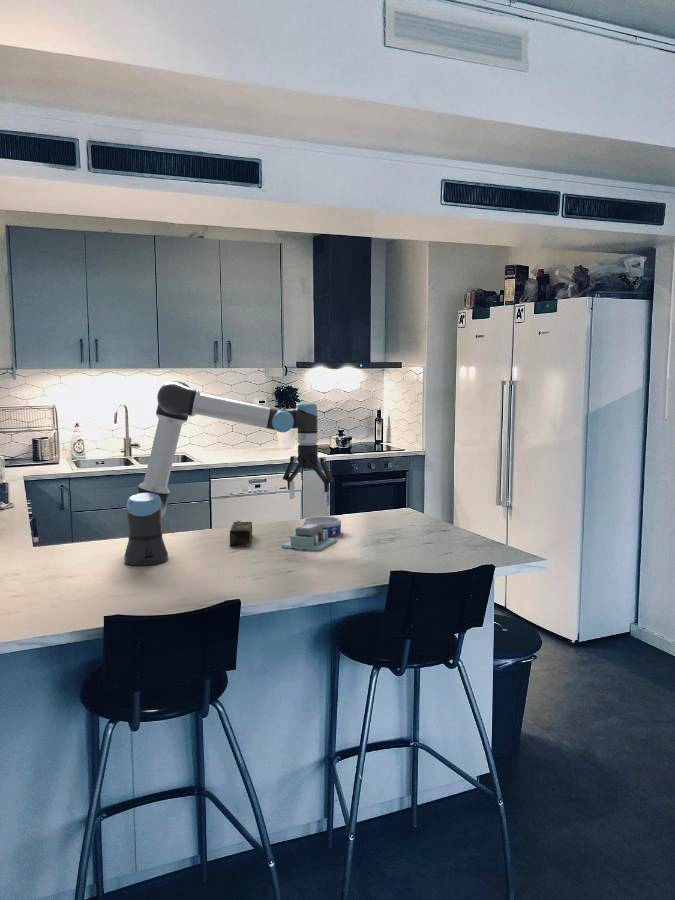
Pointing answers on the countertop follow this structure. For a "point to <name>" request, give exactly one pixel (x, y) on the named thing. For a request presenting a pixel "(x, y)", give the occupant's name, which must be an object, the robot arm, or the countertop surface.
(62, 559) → the countertop surface
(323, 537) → the pin tray
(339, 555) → the countertop surface
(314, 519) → the dog bowl
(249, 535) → the beverage carton
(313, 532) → the block
